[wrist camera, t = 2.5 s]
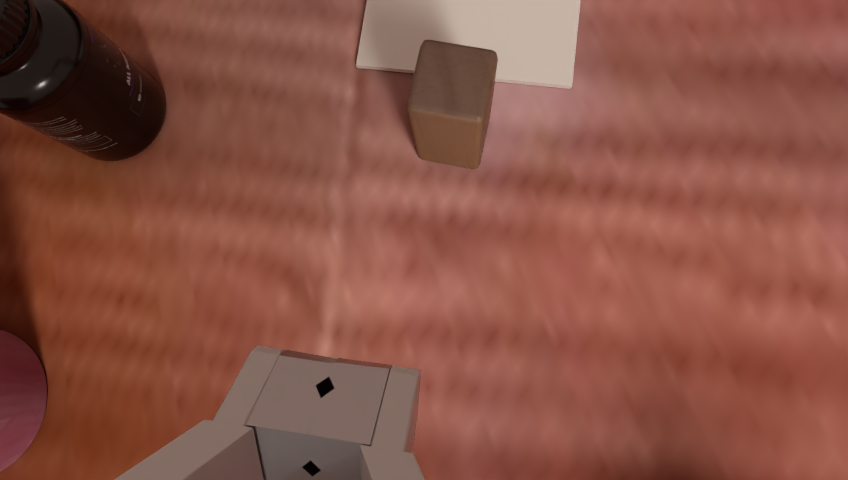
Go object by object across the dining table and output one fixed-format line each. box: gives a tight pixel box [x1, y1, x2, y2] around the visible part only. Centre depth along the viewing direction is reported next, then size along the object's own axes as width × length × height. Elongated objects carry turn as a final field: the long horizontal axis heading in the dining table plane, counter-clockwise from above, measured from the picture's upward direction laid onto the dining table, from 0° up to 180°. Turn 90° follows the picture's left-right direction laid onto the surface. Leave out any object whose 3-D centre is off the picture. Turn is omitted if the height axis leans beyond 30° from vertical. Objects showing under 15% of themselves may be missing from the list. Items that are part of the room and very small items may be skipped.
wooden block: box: [407, 40, 498, 169], centre depth 30 cm, size 4×4×8 cm
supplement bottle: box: [0, 0, 166, 161], centre depth 30 cm, size 7×7×12 cm
